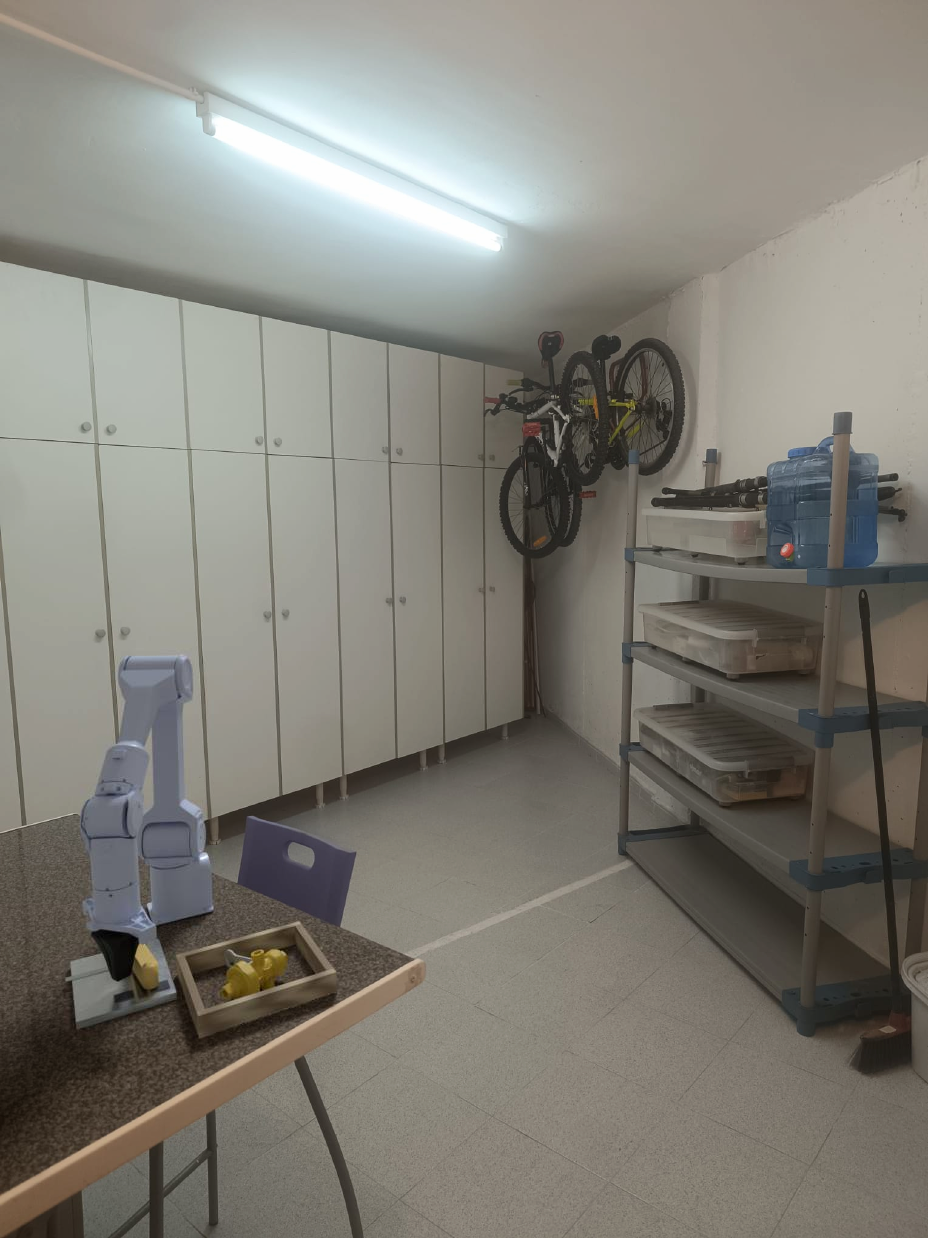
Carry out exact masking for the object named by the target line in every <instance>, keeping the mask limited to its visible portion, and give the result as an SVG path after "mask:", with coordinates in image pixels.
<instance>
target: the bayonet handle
mask: <svg viewBox="0 0 928 1238" xmlns="http://www.w3.org/2000/svg"><path fill="white" fill-rule="evenodd" d="M132 970H133V971H134V973H135V975H136V976H137V978H138V979H139V981H140V983H141V984H142V986H143V988H145V989H152V988H155V987H157V986H158V985H159V971H158V962H157V961H156V959H155V958H154V956H153V955H152V953H151V952H150V950H149V949H148V948H147V943H146V944H144V945H142V944H140V943H139V945H138V948H137V951H136V955H135V959H134V964H133V969H132Z"/></svg>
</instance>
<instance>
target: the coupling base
mask: <svg viewBox="0 0 928 1238" xmlns="http://www.w3.org/2000/svg"><path fill="white" fill-rule="evenodd" d="M147 948H148V949H149V950H150V952H151V953H152V955H153V956H154V958H155V959H156V961H157V962H158V971H159V985H158V986H157V987H155V988H152V989H145V988H143V986H142V984H141V983H140V981H139V979H138V978H137V976H136V975H135V973H134V971H133V970H132V973H131V975H130V976H128V977H127V978H125V979H123V980H121V981H119V982H117V981H115V980H113V979H112V977H111V975H110V972H109V970H108V967H107V964H106V961H105V958H104V956H103V953H102V952H101V953H97V954H94V955H91V956H86V957H82V958H78V959H75V960H70V962H69V963H70V974H71V975H70V976H68V977H67V976H66V977H64V979H65V983H68V982H71V983H72V984H71V985H72V986H71V987H72V996H73V1005H74V1006H73V1007H74V1014H75V1025H76V1030H79V1029H80V1030H81V1029H83V1028H86V1027H90V1026H93V1025H96V1024H100V1023H103V1022H107V1021H110V1020H113V1019H117V1018H120V1017H123V1016H126V1015H130V1014H132V1013H137V1012H139V1011H143V1010H146V1009H149V1008H152V1007H155V1006H159V1005H163V1004H165V1003H169V1002H171V1001H175V1000H178V995H177V994H178V993H177V989H176V986H175V984H174V981H173V978H172V977H173V976H172V975H171V970H170V968H169V965H168V962H167V959H166V957H165V953H164V950H163V947H162V944H161V941H160V938H156V939H154V940H152V941H150V942H148V943H147Z"/></svg>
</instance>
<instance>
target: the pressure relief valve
mask: <svg viewBox="0 0 928 1238" xmlns="http://www.w3.org/2000/svg"><path fill="white" fill-rule="evenodd" d="M228 954H230V955H231V956H232V957H233V960H234V962H233V965H232V964H231V963H230V964H229V962H228V960H227V955H228ZM224 962H225V964H226V965H225V966H226V967H227V970H226V975H225V976H226V977H225V983H226V984H225V985H224V986H222V987H221V988H220V994H221V998H223V1000H224V1001H230V1000H231V999H233V1000H235V999H239V998H242V997H245V996H248V995H251V994H254V993H258V992H261V989H262V991H264V990H267V989H270V988H273V987H276V985H275V980H274V979H277V978H278V977H280V976H281V975H282V974H284V973H285V971H286V969H287V964H288V962H289V958H288V955H287V953H286V952H284V951H283V950H280V949H278V950H277V949H274V950H273V949H272V950H270V951H268V952H267V953H264V951H263V950H257V951H254V952H252V953H251V957H250V958H248V957H243V956H239V955H236V954H235V953H234V952H233V951H231V950H226V951H225V952H224Z"/></svg>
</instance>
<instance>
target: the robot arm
mask: <svg viewBox="0 0 928 1238" xmlns="http://www.w3.org/2000/svg"><path fill="white" fill-rule="evenodd" d="M193 669H194V668H193V664H192V662H191V660H190V658H189V657H188V656H187V655H186V654H184V653H181V654H177V655H176V654H175V655H130V654H129V655H128V654H127V655H125V656H124V657H123V658H122V660H121V661H120V663H119V666H118V672H117V681H118V686H119V688H120V692H121V693H120V694H121V695H122V698H123V700H124V704H123V705H124V706H123V707H124V708H123V712H122V717H121V724H120V729H119V735H118V739H117V740H118V741H117V743H116V744H114V745H112V746H111V747H109V748H108V749H107V750H106V753H105V757H104V760H103V763H102V766H101V770H100V774H99V777H98V781H97V784H96V788H95V792H94V795H92V797H91V798H88V799H86V800H85V802H84V803H83V805H82V807H81V812H80V817H79V825H78V827H79V831H80V835H81V838H83V841H84V844H85V847H84V848H85V849H84V850H85V851H86V853H87V854H90V856H89V857H90V868H91V886H92V897H90V898H88V899H86V900H82V902H81V903H82V914H83V915H84V916H86V917H89V918H90V920H89V921H87V922H85V923H86V924H85V927H86V929H87V930H89V931H91V932H90V933H91V934H90V936H91V938H92V939H93V940H94V942H95V943H96V944H97V947H99V950H100V951H101V953H103V956H104V958H105V961H106V964H107V967H108V970H109V972H110V975H111V977H112V979H113V980H115V981H117V982H119V981H121V980H123V979H125V978H127V977H128V976H130V975H131V973H132V969H133V964H134V959H135V955H136V951H137V948H138V945H139V943H140V944H142V945H144V944H146V943H148V942H150V941H152V940H155V939H158V936H157V926H159V925H163V924H167V923H171V922H175V921H179V920H182V919H187V918H191V917H196V916H199V915H203V914H207V913H211V912H214V909H215V908H214V903H213V884H212V883H213V879H212V867H211V862H210V857H209V855H208V853H207V852H204V850H205V846H206V839H207V837H206V836H207V829H206V824H205V822H204V812H203V810H202V808H200V807H199V806H198V805H196V804H194V803H192V802H191V801H189V800H187V798H186V792H185V791H186V789H185V759H184V758H185V757H184V755H185V754H184V753H185V751H184V750H185V749H184V726H183V725H184V724H183V723H184V722H183V717H184V716H183V713H184V704H186V703H188V702H191V701H192V700H193V696H194V673H193ZM150 732H151V750H152V753H151V754H152V785H153V786H152V787H153V788H152V789H153V804H152V805H150V806H149V807H148V808H147V809H146V810H144V801H145V799H144V798H145V796H144V794H143V792H142V791H143V788H144V782H145V779H146V775H147V771H148V766H149V763H150V759H151V758H150V754H149V752H148V750H147V749H145V746H146V744H147V741H148V738H149V735H150ZM139 858H140V859H141V860H144V861H145V866H149V876H150V897H151V902H148V903H147V904H146V907H147V911H148V914H149V916H148V915H147V912H146V911H145V909H144V908H143V906H142V904H141V891H140V889H141V887H140V871H139ZM149 917H150V918H149Z"/></svg>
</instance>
